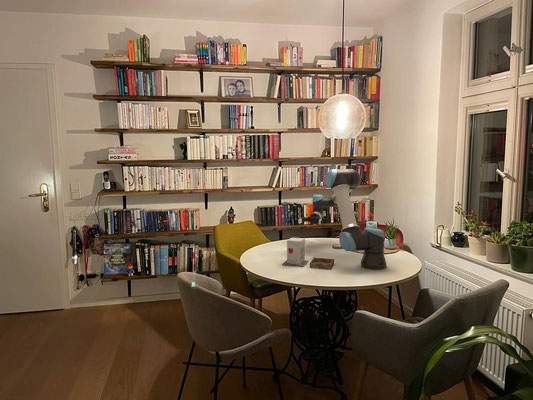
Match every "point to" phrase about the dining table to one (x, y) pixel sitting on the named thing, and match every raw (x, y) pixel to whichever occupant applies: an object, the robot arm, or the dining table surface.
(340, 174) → the robot arm
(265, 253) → the dining table surface
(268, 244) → the dining table surface
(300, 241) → the supplement box
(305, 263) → the charcoal mat
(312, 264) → the walnut holder
